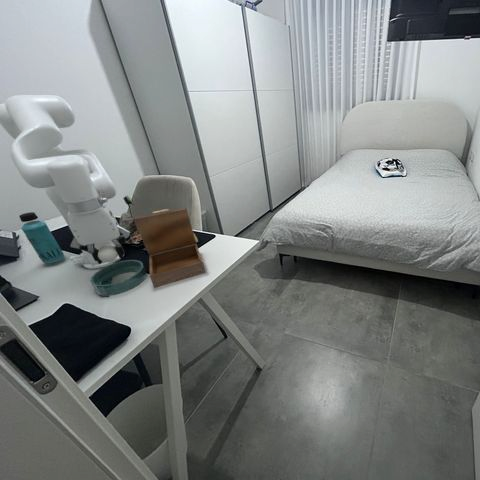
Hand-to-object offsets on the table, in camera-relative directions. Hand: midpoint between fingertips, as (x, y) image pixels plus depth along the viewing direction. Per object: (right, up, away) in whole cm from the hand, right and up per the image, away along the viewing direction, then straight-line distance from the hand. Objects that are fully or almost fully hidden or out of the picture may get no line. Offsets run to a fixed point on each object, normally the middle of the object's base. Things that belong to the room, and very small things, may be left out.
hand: (111, 258), depth 81 cm
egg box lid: (+13, +9, +8) cm, 18 cm away
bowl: (0, -9, +5) cm, 10 cm away
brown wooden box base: (+16, -5, +11) cm, 20 cm away
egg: (0, 0, 0) cm, 0 cm away
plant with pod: (-14, +6, +31) cm, 35 cm away
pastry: (+10, +4, +28) cm, 30 cm away
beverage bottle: (-35, -3, +17) cm, 39 cm away
